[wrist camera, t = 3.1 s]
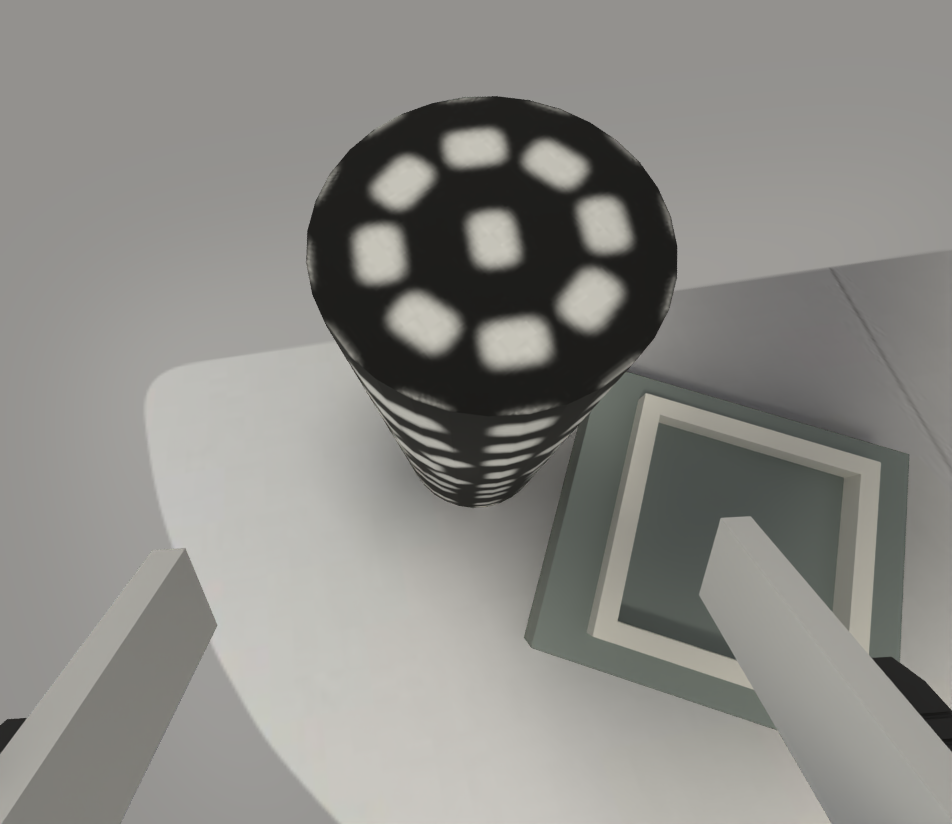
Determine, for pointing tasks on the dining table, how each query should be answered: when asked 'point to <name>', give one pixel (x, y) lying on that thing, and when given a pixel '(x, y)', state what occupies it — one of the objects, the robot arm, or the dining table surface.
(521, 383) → the black polka dot cylinder
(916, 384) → the dining table surface
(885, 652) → the tray
